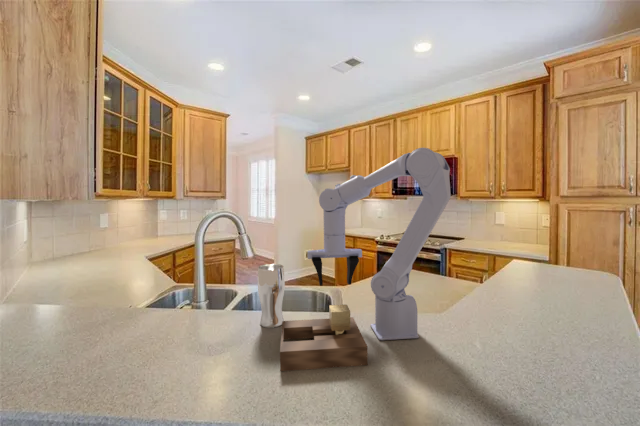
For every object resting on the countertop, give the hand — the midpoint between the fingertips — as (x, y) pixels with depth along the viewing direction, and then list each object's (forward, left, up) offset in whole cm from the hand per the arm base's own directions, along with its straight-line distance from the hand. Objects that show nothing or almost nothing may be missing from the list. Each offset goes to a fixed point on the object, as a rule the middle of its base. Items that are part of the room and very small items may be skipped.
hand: (335, 284), depth 80 cm
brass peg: (+1, +16, -9) cm, 18 cm away
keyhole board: (+5, +16, -9) cm, 19 cm away
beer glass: (+17, +1, -10) cm, 20 cm away
